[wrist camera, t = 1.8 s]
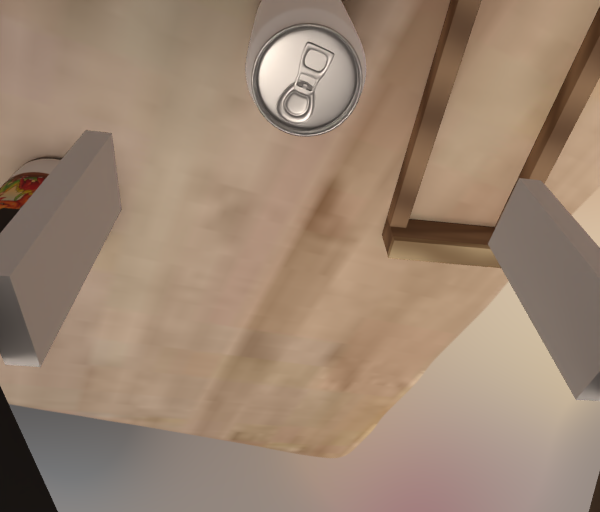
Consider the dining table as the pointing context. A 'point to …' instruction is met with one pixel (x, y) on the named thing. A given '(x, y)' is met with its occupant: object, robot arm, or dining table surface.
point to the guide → (427, 234)
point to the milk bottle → (25, 182)
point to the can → (305, 65)
